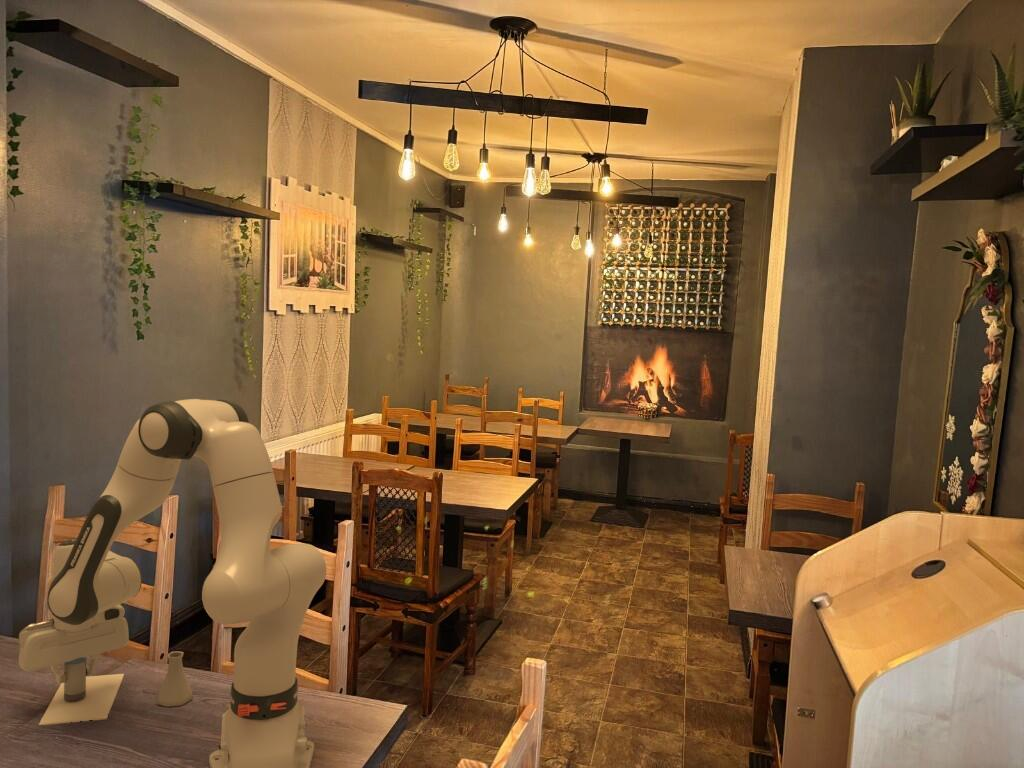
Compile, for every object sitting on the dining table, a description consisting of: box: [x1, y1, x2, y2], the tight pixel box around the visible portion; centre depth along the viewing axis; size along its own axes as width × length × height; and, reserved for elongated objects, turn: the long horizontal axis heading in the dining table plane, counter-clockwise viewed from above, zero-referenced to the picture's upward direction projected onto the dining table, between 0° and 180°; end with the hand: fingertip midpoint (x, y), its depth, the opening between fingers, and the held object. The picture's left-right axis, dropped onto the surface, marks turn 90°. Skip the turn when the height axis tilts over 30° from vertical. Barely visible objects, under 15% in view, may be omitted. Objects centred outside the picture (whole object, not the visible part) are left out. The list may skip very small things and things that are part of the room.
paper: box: [38, 673, 125, 726], centre depth 163 cm, size 20×12×1 cm, turn 18°
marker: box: [63, 657, 87, 702], centre depth 162 cm, size 4×4×9 cm
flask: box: [156, 650, 194, 708], centre depth 164 cm, size 7×7×10 cm
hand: (75, 678), depth 162 cm, fingers closed on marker, 4 cm apart
